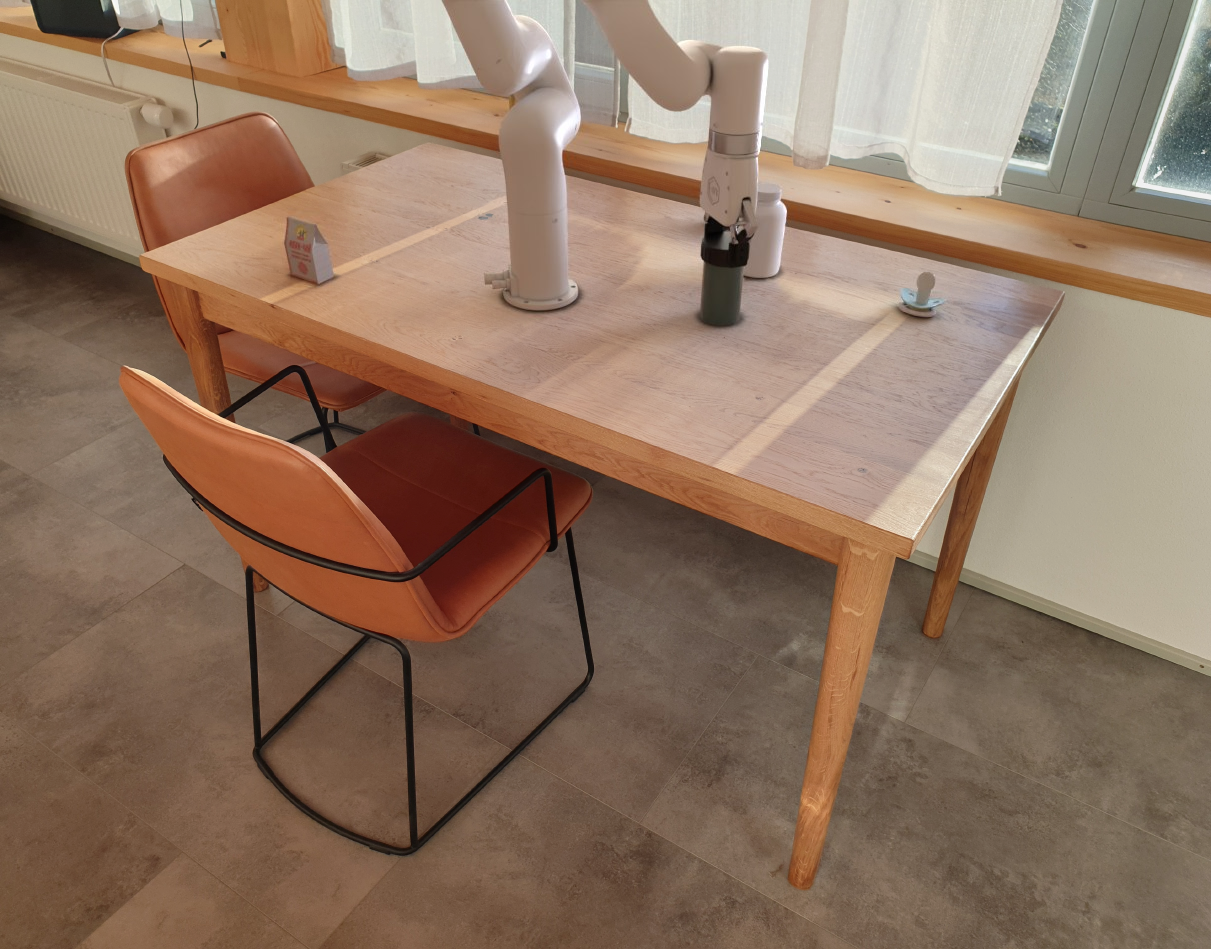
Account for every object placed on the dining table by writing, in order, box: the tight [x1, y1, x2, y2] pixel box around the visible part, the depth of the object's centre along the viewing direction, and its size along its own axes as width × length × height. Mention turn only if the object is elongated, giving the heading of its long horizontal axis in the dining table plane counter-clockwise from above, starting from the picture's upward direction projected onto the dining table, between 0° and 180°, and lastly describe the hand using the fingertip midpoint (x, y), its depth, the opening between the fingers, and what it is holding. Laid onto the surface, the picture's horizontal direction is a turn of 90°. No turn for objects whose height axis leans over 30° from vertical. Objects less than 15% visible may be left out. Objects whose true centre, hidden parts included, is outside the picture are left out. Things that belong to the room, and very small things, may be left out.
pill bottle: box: [737, 181, 788, 279], centre depth 162 cm, size 8×8×15 cm
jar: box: [699, 261, 745, 327], centre depth 148 cm, size 6×6×12 cm
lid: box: [700, 230, 750, 267], centre depth 145 cm, size 8×8×3 cm
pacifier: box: [896, 271, 947, 318], centre depth 152 cm, size 7×6×6 cm
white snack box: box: [283, 216, 335, 285], centre depth 161 cm, size 4×7×10 cm, turn 58°
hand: (724, 255), depth 145 cm, fingers closed on lid, 7 cm apart
